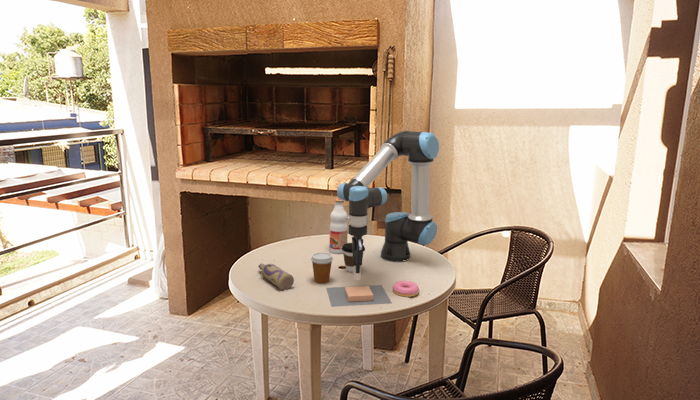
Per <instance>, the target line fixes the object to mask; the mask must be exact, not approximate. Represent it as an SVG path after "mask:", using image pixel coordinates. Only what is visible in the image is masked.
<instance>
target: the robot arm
mask: <svg viewBox="0 0 700 400" xmlns="http://www.w3.org/2000/svg"><path fill="white" fill-rule="evenodd" d="M439 151H440V142H439V139H438V137H437V136H436V134H434V133H431V132H427V131H415V130H414V131H411V130H402V131H399V132H396V133H394V134H393V135H391V136H390V137H388V138H387V139H386V140H385V141H384V142H383V143H382V144H381V145H380V149H379V150H378V151H377V152H376V153H375V154H374V156H373V157H372V158H371V159H370V160H369V161H368V162H367V163H365V165H364V166H362V168H361V169H360V170H359V171H358V173H356V175H354V176H353V178H352V179H351V180H350V181H349V182H348V183H347V182H342V183H340V184H339V185H338V187H337V189H336V195H337V197H338V199H341V200H344V202H348V218H347V220H348V235H349V236H351V243H352V251H353V260H354V261H353V263H355V264H353V266H354V273H353V277H352V278H353V280H354V281H360V280H361V277H362V276H361V274H362V273H361V271H362V270H361V269H362V266H363V259H364V257H363V256H364V251H363V249H364V247H365V245H363V244H364V238H363V237H364V236H367V234H368V219H369V218H368V211H369V209H371V208H375V207H379V206H381V205H384V204H386V202H387V200H388V193H387V191H386V189H385V188H384V187H379V186H376V187H374V188H373V187H370V185H371V184H372V183H373V182H374V181H375V180H376V179H377V177H378V176H379V175H380V174H381V173H382V172H383V171H384V170H385V169H386V168H387V167H388V165H389V164H390V163H392V161H396V160H397V159H398V158H399V157H402V156H405V157H407V158H408V159H407V160H408V163H409V164H410V165H411V185H410V186H411V187H410V188H411V189H410V191H411V193H410V198H411V205H410V206H411V207H410V211H411V213H409V212H406V211H397V212H396V211H395V212H390V213H388V214H386V216H385V220H384V221H385V222H384V223H385V225H384V243H383V245H382V248H381V251H380V258H382V259H383V260H385V261H388V260H389V262H396V261H400V262H404V261H403V260H406V261H408V260H407V259H409V258H410V259H411V251H410V247H409V244H408V243H409V242H412V243H415V244H418V245H422V246H423V245H424V246H428V245H431V244H432V242H433V241H434V239H435V238H436V236H437V231H438V225H437V223H436V222H435V221H433V215H432V214H430V198H431V197H430V195H431V193H430V191H431V189H430V187H431V185H430V184H431V165H432V163H433V162H434V159H435V158H437V156H438V155H439ZM410 259H409V260H410Z"/></svg>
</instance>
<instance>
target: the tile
mask: <svg viewBox="0 0 700 400" xmlns="http://www.w3.org/2000/svg"><path fill="white" fill-rule="evenodd" d="M358 286H359V287H351V286H344V287H345V294H346V297H347V300H348V302H356V301H372V300H373V293H372V291H371V290H370V288H369V286H370V285H358Z"/></svg>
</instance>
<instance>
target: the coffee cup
mask: <svg viewBox="0 0 700 400" xmlns="http://www.w3.org/2000/svg"><path fill="white" fill-rule="evenodd" d="M342 250H343V252H344V253H342V254H343V261H344V266H345V270H346V272H348V273H352V274H354V266H353V264H355V263H353V261H354V260H353V251H352V242H347V244H344V245H343V247H342ZM365 251H366V247H365V246H364V249H363V252H365Z"/></svg>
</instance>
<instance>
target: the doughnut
mask: <svg viewBox="0 0 700 400" xmlns="http://www.w3.org/2000/svg"><path fill="white" fill-rule="evenodd" d="M392 291H393V293H394V294H395V295H397V296H400V297H404V298H406V297H407V298H412V297H411V296H413V297H415V296H417V295H418V294H419V291H420V288H419V285H418V284H416V283H415V282H412V281H410V280H399V281H397V282H395V283H394V284H393V285H392Z"/></svg>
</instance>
